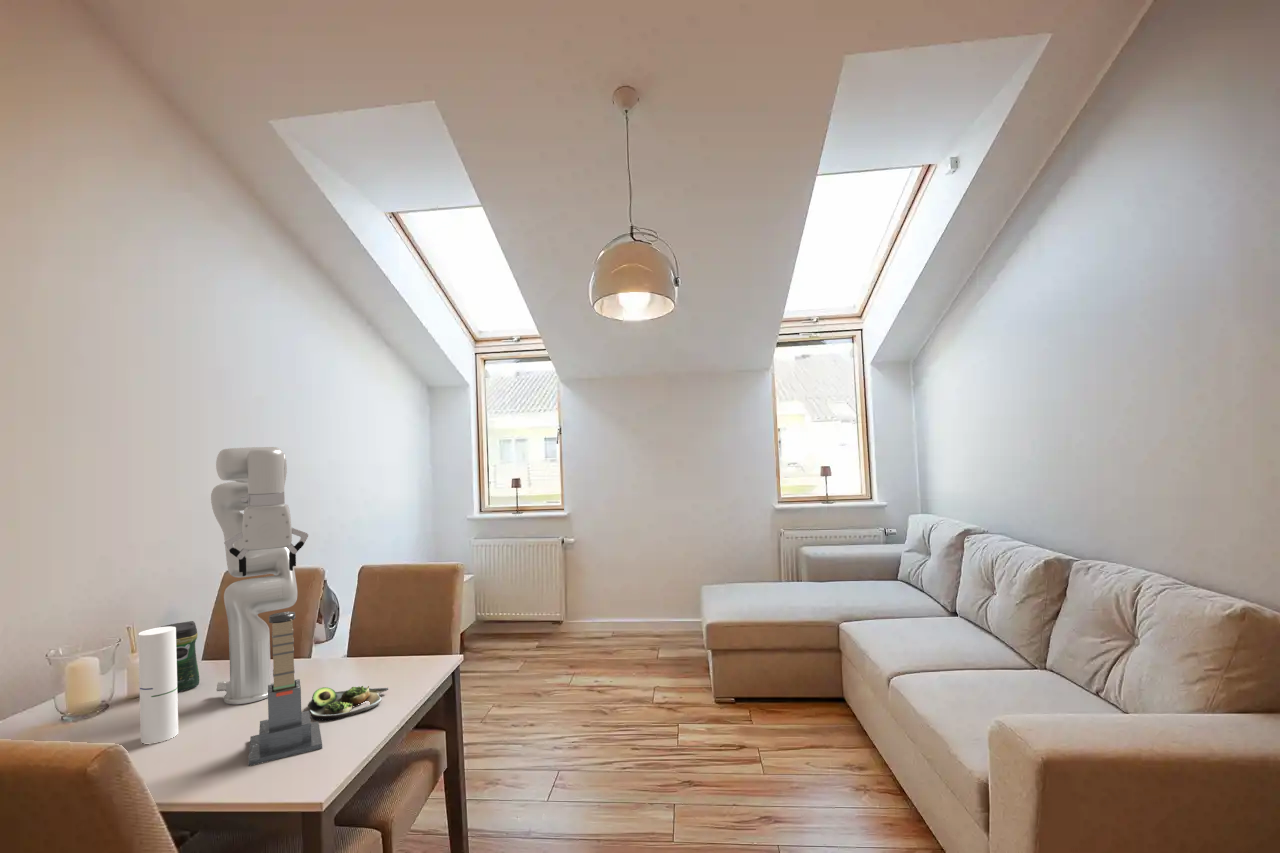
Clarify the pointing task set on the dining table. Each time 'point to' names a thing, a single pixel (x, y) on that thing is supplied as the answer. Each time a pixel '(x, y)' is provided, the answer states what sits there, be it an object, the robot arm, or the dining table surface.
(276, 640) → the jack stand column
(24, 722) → the dining table surface
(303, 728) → the stand
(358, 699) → the salad plate
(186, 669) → the coffee jar
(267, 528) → the robot arm
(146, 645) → the cylindrical container
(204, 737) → the dining table surface
